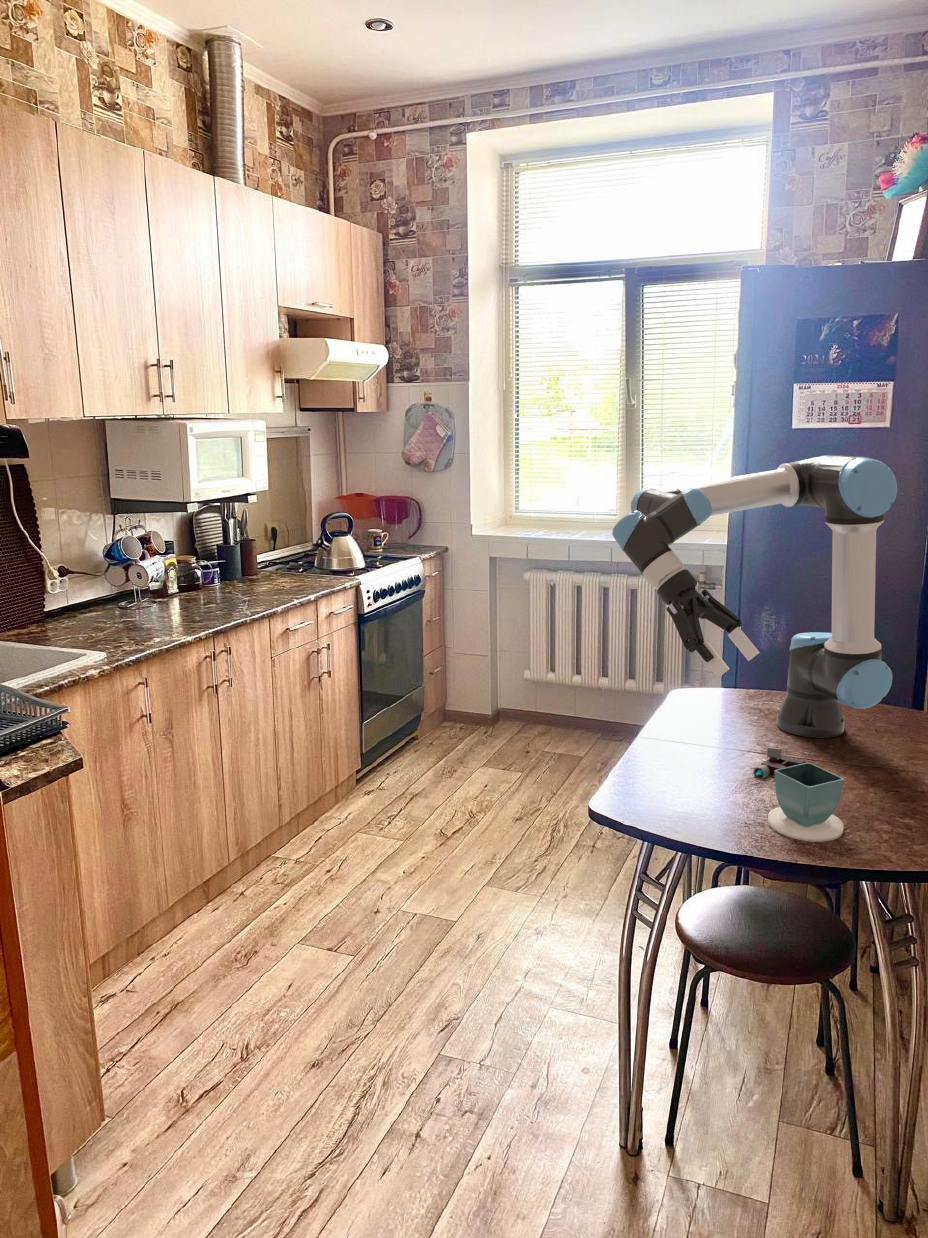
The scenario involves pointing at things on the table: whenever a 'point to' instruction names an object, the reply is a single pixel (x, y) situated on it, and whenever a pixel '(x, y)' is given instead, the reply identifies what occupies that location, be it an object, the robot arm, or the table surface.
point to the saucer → (805, 827)
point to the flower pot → (807, 793)
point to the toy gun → (775, 763)
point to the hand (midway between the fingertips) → (739, 665)
